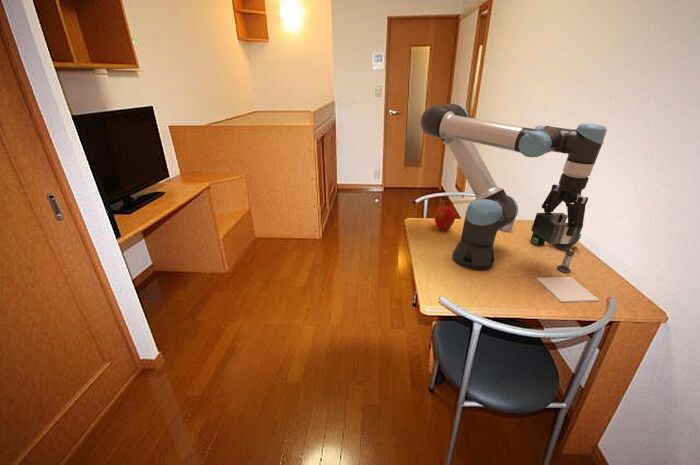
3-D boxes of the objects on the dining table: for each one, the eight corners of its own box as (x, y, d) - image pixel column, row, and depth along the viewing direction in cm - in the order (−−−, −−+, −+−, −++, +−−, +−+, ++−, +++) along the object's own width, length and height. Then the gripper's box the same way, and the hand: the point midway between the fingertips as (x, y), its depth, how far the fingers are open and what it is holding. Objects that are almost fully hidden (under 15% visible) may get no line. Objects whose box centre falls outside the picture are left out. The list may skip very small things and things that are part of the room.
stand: (561, 273, 118) (569, 252, 114) (554, 266, 121) (561, 246, 118) (573, 273, 118) (581, 252, 114) (564, 266, 122) (572, 246, 118)
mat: (560, 302, 102) (561, 301, 102) (536, 279, 113) (536, 277, 113) (598, 301, 103) (599, 299, 103) (570, 278, 115) (570, 277, 114)
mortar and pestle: (564, 241, 142) (573, 216, 136) (581, 251, 133) (591, 225, 128) (541, 241, 140) (550, 216, 135) (556, 252, 132) (566, 226, 127)
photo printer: (513, 231, 150) (520, 206, 144) (508, 233, 147) (515, 208, 142) (493, 223, 157) (499, 199, 152) (488, 225, 155) (494, 201, 149)
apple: (430, 225, 152) (433, 201, 147) (448, 225, 153) (452, 201, 148) (436, 234, 144) (440, 209, 139) (455, 233, 145) (460, 209, 140)
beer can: (541, 247, 135) (550, 221, 130) (528, 243, 139) (536, 217, 133) (545, 243, 139) (554, 218, 133) (532, 239, 142) (540, 214, 137)
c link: (548, 243, 108) (555, 224, 105) (531, 230, 117) (536, 212, 114) (575, 243, 109) (583, 224, 106) (556, 230, 118) (563, 212, 115)
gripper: (615, 186, 93) (586, 251, 103) (562, 165, 113) (543, 222, 123) (591, 185, 92) (565, 252, 102) (542, 165, 113) (524, 222, 122)
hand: (553, 235), depth 113 cm, fingers closed on c link, 10 cm apart
